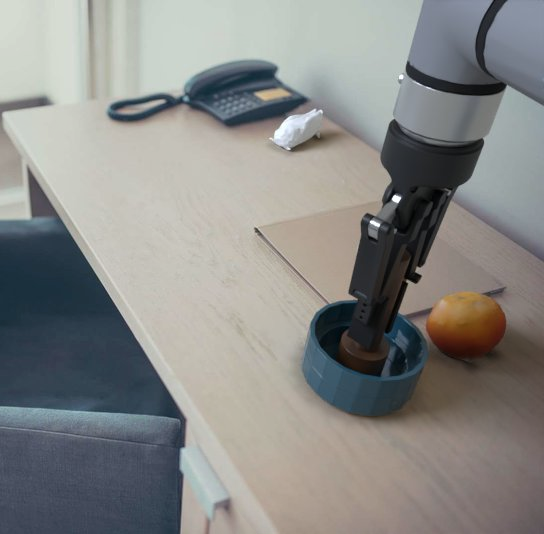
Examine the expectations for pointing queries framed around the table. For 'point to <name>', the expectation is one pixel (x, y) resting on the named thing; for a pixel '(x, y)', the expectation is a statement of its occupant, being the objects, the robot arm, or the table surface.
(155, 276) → the table surface
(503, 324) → the fruit
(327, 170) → the table surface
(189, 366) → the table surface
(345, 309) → the bowl
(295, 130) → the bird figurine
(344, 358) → the muddler
